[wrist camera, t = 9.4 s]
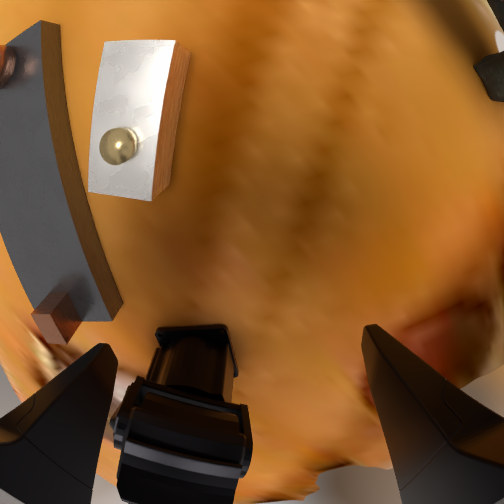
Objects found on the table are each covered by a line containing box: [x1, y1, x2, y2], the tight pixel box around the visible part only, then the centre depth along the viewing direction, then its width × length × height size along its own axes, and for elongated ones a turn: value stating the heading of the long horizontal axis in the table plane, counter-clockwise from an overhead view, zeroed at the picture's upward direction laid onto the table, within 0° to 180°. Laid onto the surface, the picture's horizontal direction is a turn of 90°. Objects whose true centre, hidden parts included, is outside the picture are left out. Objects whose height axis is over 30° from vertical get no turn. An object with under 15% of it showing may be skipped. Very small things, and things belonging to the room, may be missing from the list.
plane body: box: [0, 20, 123, 345], centre depth 16 cm, size 24×9×6 cm, turn 8°
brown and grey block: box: [88, 40, 191, 201], centre depth 15 cm, size 9×4×5 cm, turn 169°
